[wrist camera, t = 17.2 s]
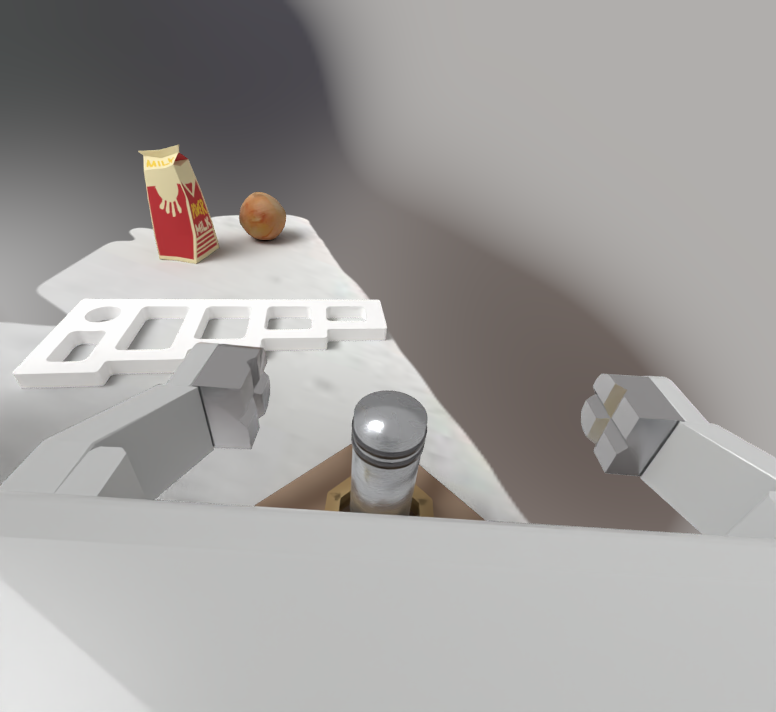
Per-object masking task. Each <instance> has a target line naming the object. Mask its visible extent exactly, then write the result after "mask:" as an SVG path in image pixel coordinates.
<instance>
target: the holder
mask: <svg viewBox="0 0 776 712" xmlns="http://www.w3.org/2000/svg"><path fill="white" fill-rule="evenodd" d="M246 318H249V319H250V320H249V324H248V328H247V332H246V335H245V337H243V338H240V339H201V338H202V336H203V333H204V331H205V328H206V326H207V323H208V321H209V320H211V319H246ZM273 318H309V319H311V328H309V329H280V330H268V329H267V327H268V322H269V320H270V319H273ZM329 318H362V319H364V320H365V321H329V320H327V319H329ZM109 319H112V320H109ZM149 319H185V320H184V322H183V324H182V326H181V328H180V330H179V332H178V334H177V336H176V338H175V340H174V342H173V344H172V346H171V347H169V348H167V349H149V350H127V349H128V348H129V346H130V344H131V343H132V341H133V340H134V338H135V337H136V335H137V334H138V332H139V330H140V329H141V327H142V326H143V324H144V323H145V321H147V320H149ZM104 320H109V321H105V322H101V321H104ZM386 332H387V325H386V322H385V318H384V314H383V310H382V307H381V303H380V300H273V299H83V300H81V301H80V302H79V303H78V305H77V306H76V307H75V308H74V309H73V310H72V311H71V312H70V313H69V314H68V315H67V316H66V317H65V318H64V319H63V320H62V321H61V322H60V323H59V324H58V325H57V326H56V327H55V329H54V330H53V331H52V332H51V333H50V334H49V335H48V336H47V337H46V338H45V339H44V340H43V341H42V342H41V343H40V344H39V345H38V346H37V347H36V348H35V349H34V350H33V351H32V352H31V354H30V355H29V356H28V357H27V358H26V359H25V360H24V361H23V362H22V363H21V364H20V365H19V366H18V367H17V368H16V369H15V370H14V371H13V372H12V373H13V375H14V377H15V378H16V380H17V382H18V383H19V385H20V387H21V388H23V389H25V388H59V387H93V386H103V385H105V383H106V382H107V380H108V379H109V377H110V376H111V375H114V374H152V373H174V372H175V371H176V369H177V368H178V367H179V365H180V364H181V363H182V361H183V360H184V359H185V357H186V356H187V354H188V353H189V352H190V350H191V349H192V348H193V346H194V345H195V344H196V343H199V342H206V343H219V344H230V345H240V346H251V347H261V348H264V350H265V351H300V350H326V349H327V342H329V341H384V340H386ZM81 344H91V345H97V344H98V345H97V346H96V347H95V349H94V350H93V351H92V353H91V354H90V355H89V357H88V358H86V359H84V360H82V361H67V362H63V361H64V360H65V358H66V357H67V356H68V355H69V354H70V352H71V351H72V350H73V349H74V348H75V347H76V346H78V345H81Z"/></svg>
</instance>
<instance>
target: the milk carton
mask: <svg viewBox="0 0 776 712" xmlns="http://www.w3.org/2000/svg"><path fill="white" fill-rule="evenodd" d="M139 152H140V153H141V154H142V155H144V173H145V181H146V188H147V195H148V202H149V208H150V213H151V219H152V224H153V230H154V236H155V240H156V245H157V249H158V254H159V258H160V259H166V260H177V261H183V262H189V263H194V264H197V263H198V262H200V261H201V260H203V259H204V258H206V257H207V256H209V255H210V254H211V253H213V252H214V251H215V250H217V249H218V248H219V244H218V240H217V237H216V233H215V230H214V226H213V223H212V220H211V217H210V215H209V212H208V209H207V206H206V203H205V200H204V197H203V195H202V192H201V189H200V187H199V185H198V182H197V180H196V177H195V175H194V172H193V170H192V167H191V165H190V162H189V160H188V159H187V158H186V157H184V156H183V155H182V154H180V153H179V145H176V146H172V147H168V148H165V149H161V150H150V151H139Z"/></svg>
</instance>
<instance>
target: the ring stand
mask: <svg viewBox="0 0 776 712" xmlns="http://www.w3.org/2000/svg"><path fill="white" fill-rule="evenodd" d="M352 448H353V446H352V444H350V445H349V446H347V447H346V448H344V449H343V450H341V451H339V452H338V453H336V454H335V455H333V456H332V457H330V458H328V459H327V460H325V461H324V462H322V463H321V464H319V465H317V466H316V467H314V468H313V469H311V470H310V471H308V472H306V473H305V474H303V475H302V476H300V477H299V478H297V479H295V480H294V481H292V482H291V483H289V484H288V485H286V486H284V487H283V488H281V489H280V490H278V491H277V492H275V493H273V494H272V495H270V496H269V497H267V498H266V499H264V500H262V501H261V502H259V503H258V504H256V505H255V506H259V507H275V508H291V509H307V510H323V511H339V512H350V493H351V471H352ZM409 516H418V517H434V518H450V519H466V520H482V521H485V520H484V519H483V518H482V517H481V516H479V515H478V514H477V513H476V512H475V511H473V510H472V509H471V508H470V507H469V506H467V505H466V504H465V503H464V502H463V501H462V500H460V499H459V498H458V497H457V496H456V495H454V494H453V493H452V492H451V491H450V490H448V489H447V488H446V487H445V486H444V485H442V484H441V483H440V482H439V481H438V480H437V479H435V478H434V477H433V476H432V475H431V474H429V473H428V472H427V471H426V470H425V469H423V468H422V467H421V466H420V465H419V466H418V472H417V477H416V482H415V487H414V492H413V497H412V502H411V507H410V512H409Z"/></svg>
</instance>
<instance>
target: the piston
mask: <svg viewBox="0 0 776 712" xmlns="http://www.w3.org/2000/svg"><path fill="white" fill-rule="evenodd" d="M426 433H427V413H426V411H425V409H424V407H423V406H422V405H421V403H420V402H418V401H417V400H416V399H415V398H413V397H411V396H409V395H407V394H405V393H401V392H397V391H378V392H374V393H371V394H369V395H367V396H365V397H364V398H362V399H361V400H360V401H359V402H358V404H357V405H356V407H355V410H354V417H353V420H352V439H351V441H352V446H353V448H352V471H351V493H350V512H355V513H370V514H386V515H402V516H409V512H410V507H411V502H412V497H413V492H414V487H415V482H416V477H417V472H418V466H419V461H420V456H421V454H422V452H423V448H424V443H425V438H426Z"/></svg>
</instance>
